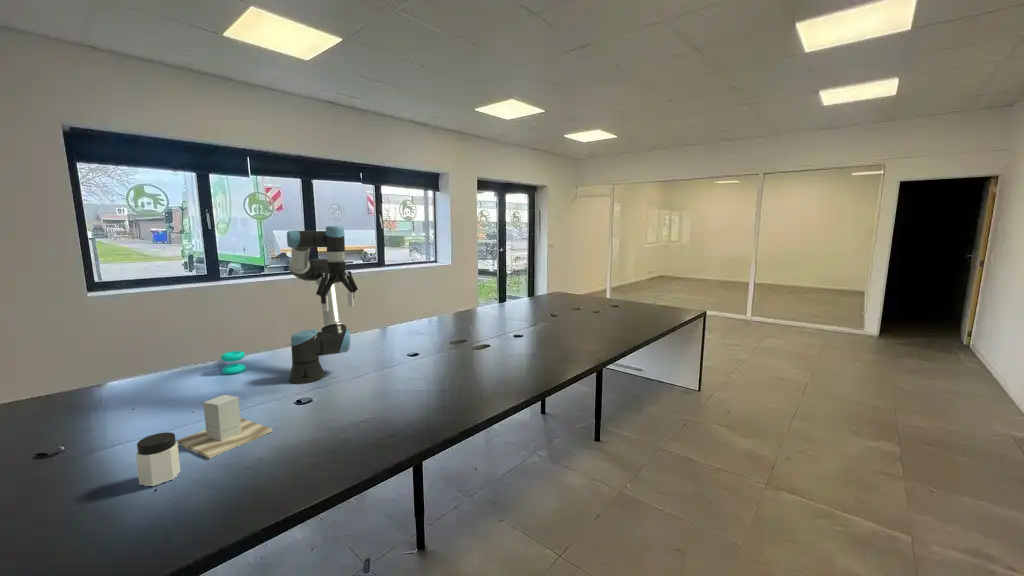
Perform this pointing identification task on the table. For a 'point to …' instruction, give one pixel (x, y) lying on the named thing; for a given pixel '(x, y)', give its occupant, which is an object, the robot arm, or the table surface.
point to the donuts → (233, 357)
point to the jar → (157, 459)
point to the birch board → (216, 447)
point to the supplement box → (222, 417)
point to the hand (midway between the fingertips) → (338, 308)
